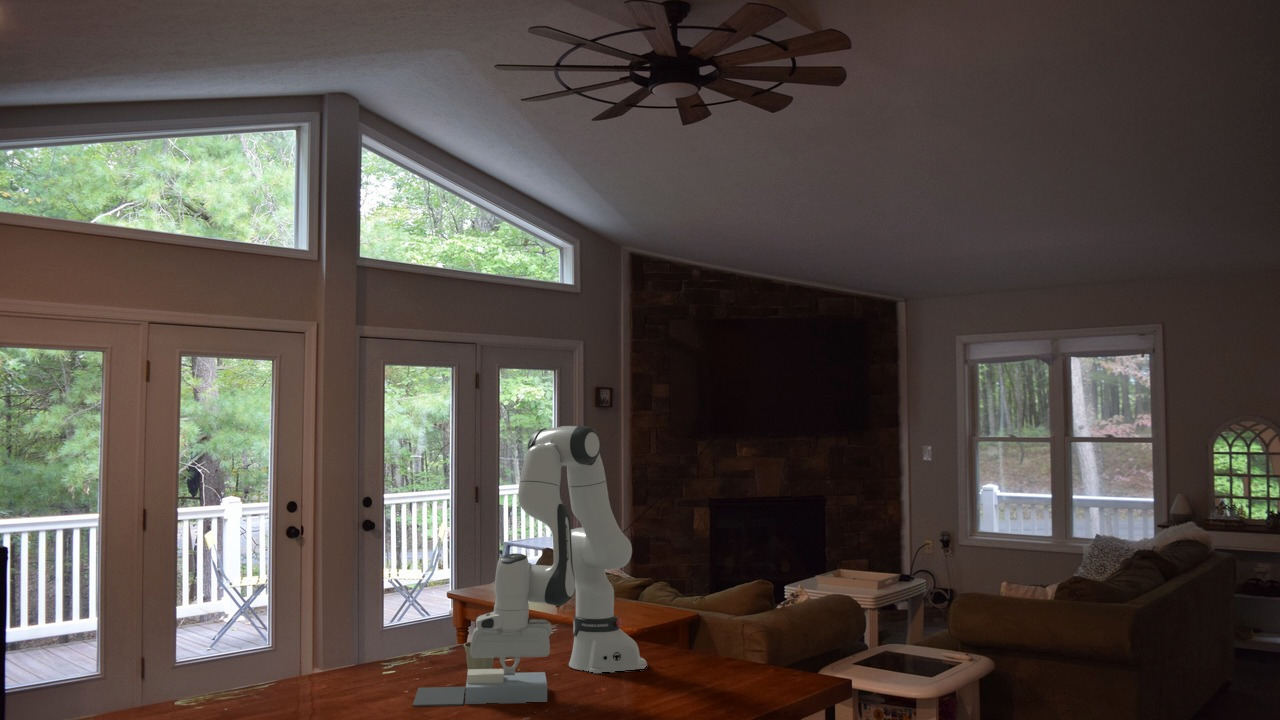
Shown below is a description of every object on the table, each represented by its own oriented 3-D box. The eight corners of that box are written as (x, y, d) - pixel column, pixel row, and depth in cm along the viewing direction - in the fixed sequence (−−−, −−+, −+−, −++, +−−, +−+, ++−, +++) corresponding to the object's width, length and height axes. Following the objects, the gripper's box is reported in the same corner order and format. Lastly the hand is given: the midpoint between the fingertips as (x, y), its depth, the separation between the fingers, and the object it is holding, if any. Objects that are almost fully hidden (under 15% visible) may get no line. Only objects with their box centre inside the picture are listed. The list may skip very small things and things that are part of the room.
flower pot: (503, 674, 267) (504, 642, 268) (487, 682, 258) (488, 649, 259) (473, 671, 270) (474, 639, 271) (456, 678, 261) (457, 646, 262)
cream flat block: (503, 676, 248) (503, 668, 248) (503, 682, 242) (503, 674, 243) (467, 677, 247) (467, 669, 247) (467, 683, 241) (467, 675, 241)
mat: (465, 688, 252) (465, 686, 252) (462, 705, 236) (462, 703, 236) (418, 689, 250) (418, 687, 250) (412, 706, 234) (412, 704, 234)
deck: (544, 687, 253) (545, 672, 254) (547, 702, 240) (547, 686, 240) (467, 689, 251) (467, 673, 251) (465, 704, 237) (465, 687, 237)
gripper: (551, 616, 251) (549, 671, 250) (471, 617, 248) (469, 672, 247) (552, 621, 245) (551, 677, 244) (470, 621, 242) (468, 678, 241)
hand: (509, 674), depth 245 cm, fingers closed
